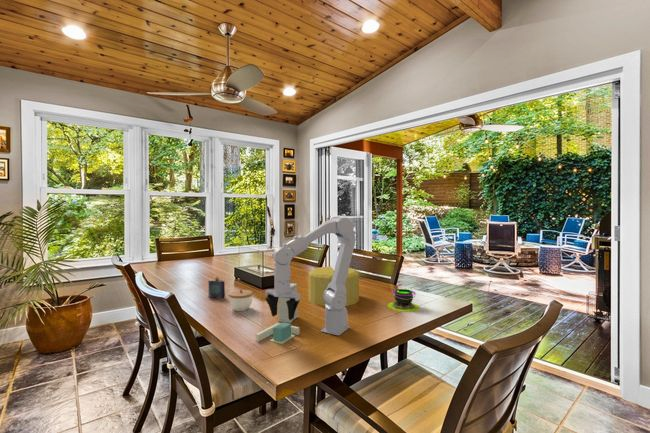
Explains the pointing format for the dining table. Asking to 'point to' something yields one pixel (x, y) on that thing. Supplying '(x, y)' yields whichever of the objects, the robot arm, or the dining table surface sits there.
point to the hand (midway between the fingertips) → (282, 317)
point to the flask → (216, 288)
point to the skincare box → (284, 309)
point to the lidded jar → (240, 299)
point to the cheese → (323, 277)
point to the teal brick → (282, 331)
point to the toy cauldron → (403, 301)
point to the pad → (284, 340)
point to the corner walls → (269, 332)
